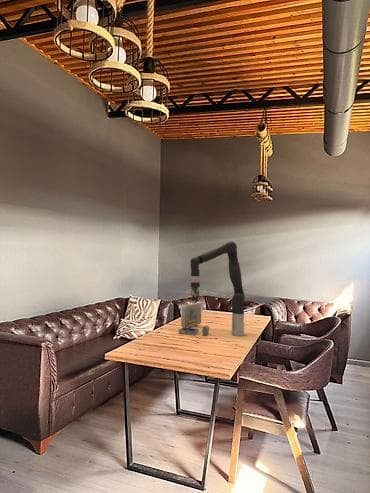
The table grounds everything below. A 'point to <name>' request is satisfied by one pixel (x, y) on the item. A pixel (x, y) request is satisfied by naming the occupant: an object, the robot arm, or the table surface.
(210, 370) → the table surface
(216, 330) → the table surface
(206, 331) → the rectangular block
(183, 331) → the rack
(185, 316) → the network device
